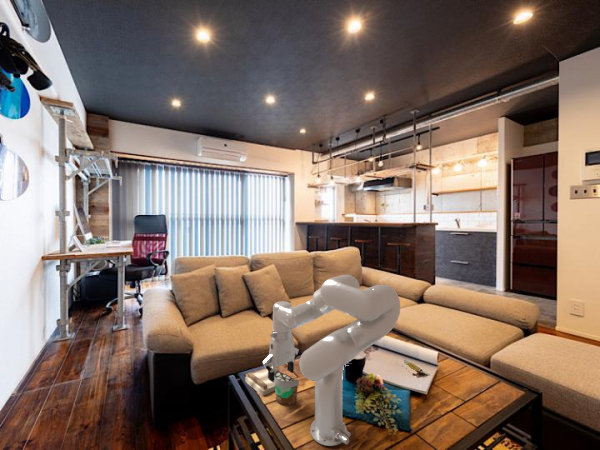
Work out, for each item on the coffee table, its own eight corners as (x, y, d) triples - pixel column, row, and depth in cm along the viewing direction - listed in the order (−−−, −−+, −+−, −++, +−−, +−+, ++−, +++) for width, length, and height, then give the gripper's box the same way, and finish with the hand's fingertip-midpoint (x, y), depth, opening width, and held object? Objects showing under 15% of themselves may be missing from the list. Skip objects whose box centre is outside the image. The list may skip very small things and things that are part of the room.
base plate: (289, 383, 123) (289, 375, 123) (262, 396, 114) (262, 387, 114) (270, 370, 134) (270, 363, 134) (245, 381, 124) (245, 373, 124)
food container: (266, 398, 112) (266, 373, 112) (277, 391, 117) (277, 368, 117) (287, 412, 104) (287, 386, 104) (299, 404, 109) (299, 379, 108)
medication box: (397, 366, 138) (397, 358, 138) (402, 364, 139) (401, 356, 139) (416, 378, 127) (415, 369, 127) (420, 376, 128) (420, 367, 128)
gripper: (269, 343, 102) (268, 388, 102) (304, 331, 113) (303, 372, 114) (258, 336, 107) (257, 379, 108) (292, 325, 119) (291, 364, 119)
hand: (281, 375), depth 111 cm, fingers open, 9 cm apart
